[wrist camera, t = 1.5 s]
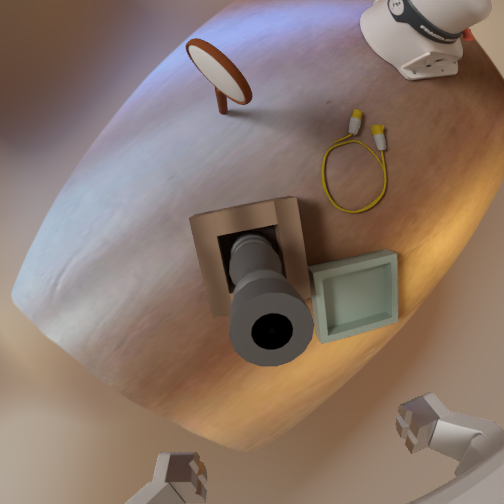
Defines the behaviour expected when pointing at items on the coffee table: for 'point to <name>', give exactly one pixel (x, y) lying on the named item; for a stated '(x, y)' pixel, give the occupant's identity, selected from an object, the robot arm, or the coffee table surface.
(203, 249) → the socket block
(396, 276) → the parts tray
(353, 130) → the extension cord
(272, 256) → the candle holder
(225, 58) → the magnifying glass
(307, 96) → the coffee table surface
